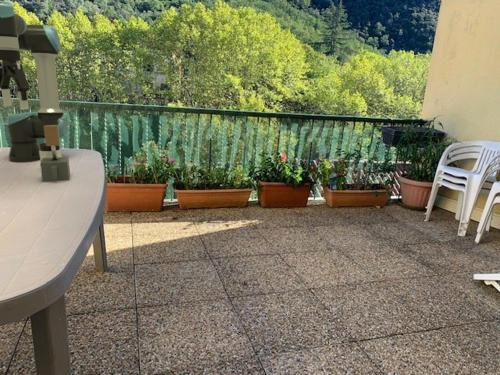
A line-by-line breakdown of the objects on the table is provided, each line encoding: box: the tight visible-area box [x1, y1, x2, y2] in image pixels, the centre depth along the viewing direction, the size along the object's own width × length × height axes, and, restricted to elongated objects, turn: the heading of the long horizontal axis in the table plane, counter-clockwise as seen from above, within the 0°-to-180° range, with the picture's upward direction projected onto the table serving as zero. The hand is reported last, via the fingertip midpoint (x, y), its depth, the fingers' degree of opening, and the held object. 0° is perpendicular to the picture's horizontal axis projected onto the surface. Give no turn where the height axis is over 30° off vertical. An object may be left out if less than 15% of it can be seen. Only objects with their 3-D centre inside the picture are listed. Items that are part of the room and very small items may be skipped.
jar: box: [39, 142, 63, 162], centre depth 178 cm, size 9×8×12 cm
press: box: [39, 156, 71, 183], centre depth 164 cm, size 13×10×8 cm
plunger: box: [44, 125, 61, 160], centre depth 162 cm, size 4×5×14 cm
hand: (16, 107), depth 149 cm, fingers open, 13 cm apart
